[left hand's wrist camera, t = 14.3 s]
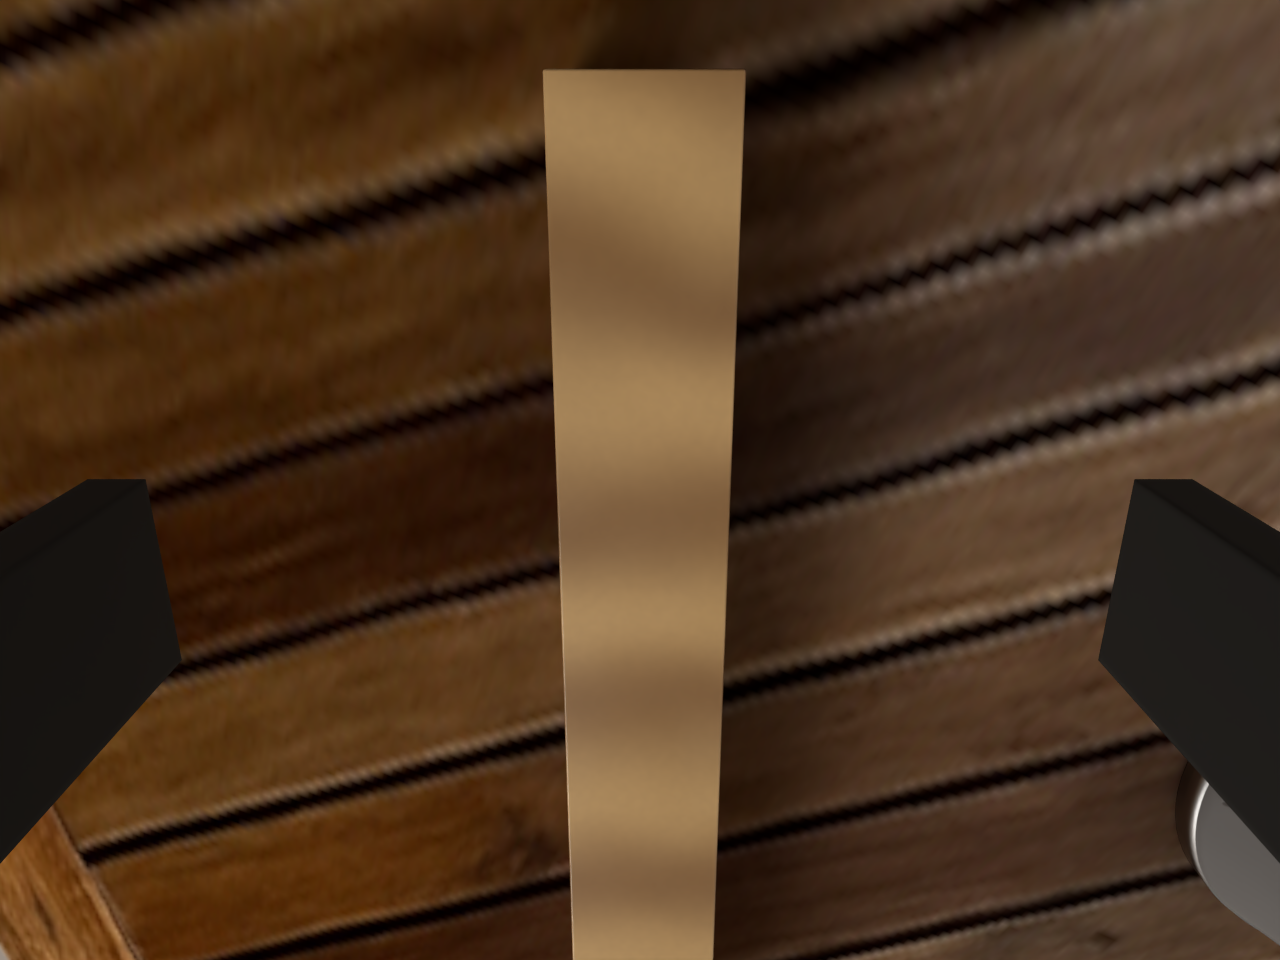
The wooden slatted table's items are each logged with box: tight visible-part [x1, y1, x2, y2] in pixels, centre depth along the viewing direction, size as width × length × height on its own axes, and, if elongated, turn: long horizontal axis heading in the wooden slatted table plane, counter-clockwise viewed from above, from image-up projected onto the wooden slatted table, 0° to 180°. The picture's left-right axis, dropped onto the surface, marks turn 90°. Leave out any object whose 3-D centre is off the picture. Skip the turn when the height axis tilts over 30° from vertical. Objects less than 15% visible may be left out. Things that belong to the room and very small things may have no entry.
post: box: [543, 69, 746, 960], centre depth 39 cm, size 58×6×8 cm, turn 0°
